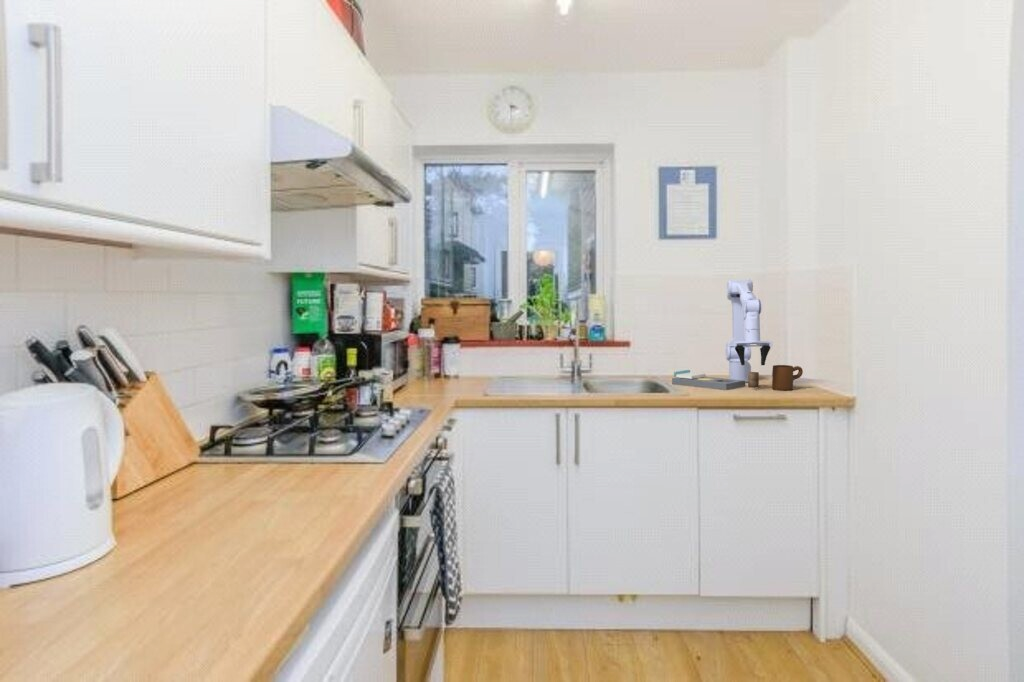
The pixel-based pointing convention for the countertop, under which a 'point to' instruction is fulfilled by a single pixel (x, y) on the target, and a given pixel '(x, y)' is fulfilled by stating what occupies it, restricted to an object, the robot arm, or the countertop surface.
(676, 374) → the lid
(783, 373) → the mug
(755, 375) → the peg
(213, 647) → the countertop surface
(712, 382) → the housing
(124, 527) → the countertop surface
